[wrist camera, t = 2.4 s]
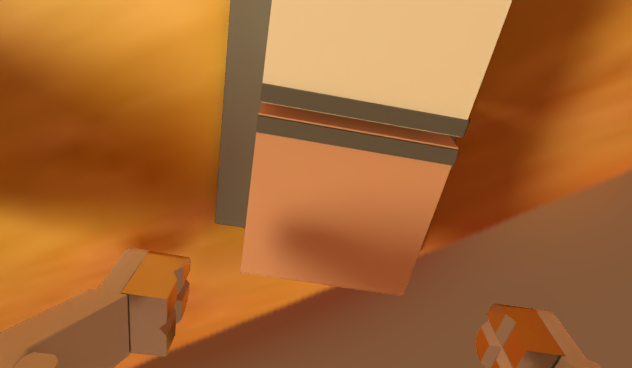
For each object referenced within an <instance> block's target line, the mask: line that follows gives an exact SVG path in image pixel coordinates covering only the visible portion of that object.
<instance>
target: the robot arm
mask: <svg viewBox="0 0 632 368" xmlns="http://www.w3.org/2000/svg"><path fill="white" fill-rule="evenodd" d="M189 272H190V258H189V257H184V256H178V255H173V254H167V253H161V252H155V251H148V250H142V249H136V248H129V249H127V250H126V251H125V252H124V254H123V255H122V256H121V258H120V259H119V260H118V262H117V263H116V264H115V266H114V267H113V269H112V270H111V271H110V273H109V274H108V275H107V277H106V278H105V279H104V281H103V282H102V284H101V285H100V286H99V288H98V289H97V290H91V289H90V290H88V291H86V292H84V293H82V294H80V295H78V296H76V297H74V298H71V299H69V300H67V301H65V302H63V303H61V304H59V305H57V306H55V307H53V308H51V309H48V310H46V311H44V312H42V313H40V314H38V315H36V316H34V317H32V318H30V319H28V320H26V321H23V322H21V323H19V324H17V325H15V326H13V327H11V328H9V329H7V330H5V331H3V332H0V368H114V367H115V366H116V365H117V364H119V363H120V362H121V361H122V360H124V359H125V358H126V357H127V356H129V353H137V354H147V355H156V356H166V355H167V353H168V351H169V348H170V346H171V344H172V341H173V339H174V336H175V330H176V323H178V322H179V321H181V319H182V317H183V314H184V312H185V308H186V304H187V301H188V295H189V282H188V281H187V280H186V279H187V276H188V274H189ZM487 316H488V319H489V321H488V322H487V323H485V324H483V325H482V326H481V327H480V329H479V331H478V333H477V337H476V350H477V354H478V357H479V359H480V362H481V363H482V364H483V365H484V366H485V367H486V368H602V367H600V366H599V365H598V364H596V363H595V362H594V361H591V360H587V359H586V358H585V357H584V356H583V354H582V352H581V351H580V350H579V348H578V347H577V345H576V344H575V342H574V341H573V340H572V338H571V337H570V336H569V334H568V333H567V331H566V330H565V328H564V327H563V326H562V324H561V323H560V321H559V320H558V319H557V317H556V316H555V314H553V313H552V312H550V311H549V310H540V309H533V308H530V309H529V308H522V307H515V306H509V305H501V304H494V305H492V306H491V307H490V309H489V311H488V313H487Z"/></svg>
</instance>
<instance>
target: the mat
mask: <svg viewBox="0 0 632 368" xmlns="http://www.w3.org/2000/svg"><path fill="white" fill-rule="evenodd" d="M271 4H272V0H231V1H230V15H229V29H228V44H227V58H226V72H225V86H224V100H223V114H222V128H221V142H220V156H219V171H218V185H217V199H216V213H215V223H216V224H222V225H229V226H236V227H242V228H245V227H246V218H247V209H248V201H249V192H250V183H251V174H252V166H253V157H254V148H255V140H256V127H257V118H258V113H259V111H260V109H261V106H262V104H263V102H260V95H261V87H262V82H263V73H264V64H265V56H266V47H267V38H268V30H269V21H270V12H271ZM449 136H450V137H451V139H452V140H453V141H454V143H455V140H456V138H457V136H451V135H449Z"/></svg>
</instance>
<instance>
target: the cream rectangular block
mask: <svg viewBox="0 0 632 368" xmlns="http://www.w3.org/2000/svg"><path fill="white" fill-rule="evenodd" d="M511 2H512V0H272V4H271V12H270V21H269V30H268V38H267V47H266V56H265V64H264V73H263V82H262V87H261V95H260V102H264V103H269V104H275V105H281V106H286V107H292V108H298V109H303V110H309V111H315V112H320V113H326V114H332V115H337V116H343V117H349V118H354V119H360V120H366V121H371V122H377V123H383V124H388V125H394V126H400V127H405V128H411V129H417V130H422V131H428V132H434V133H439V134H445V135H451V136H457V137H463V136H464V135H465V132H466V130H467V127H468V124H469V122H470V119H469V118H468V117H469V115H470V112H471V109H472V107H473V104H474V101H475V99H476V96H477V93H478V91H479V88H480V85H481V83H482V80H483V77H484V75H485V72H486V69H487V67H488V64H489V61H490V59H491V56H492V53H493V50H494V48H495V45H496V42H497V40H498V37H499V34H500V32H501V29H502V26H503V24H504V21H505V18H506V16H507V13H508V10H509V8H510V5H511Z"/></svg>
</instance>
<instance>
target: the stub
mask: <svg viewBox="0 0 632 368" xmlns="http://www.w3.org/2000/svg"><path fill="white" fill-rule="evenodd" d="M458 153H459V150H458V146H457V145H456V144H455V143H454V141H453V140H452V139H451V137H450V136H449V135H445V134H439V133H434V132H428V131H422V130H417V129H411V128H405V127H400V126H394V125H388V124H383V123H377V122H371V121H366V120H360V119H354V118H349V117H343V116H337V115H332V114H326V113H320V112H315V111H309V110H303V109H298V108H292V107H286V106H281V105H275V104H269V103H264V102H263V104H262V106H261V109H260V111H259V113H258V118H257V127H256V140H255V148H254V157H253V166H252V174H251V183H250V192H249V201H248V209H247V218H246V227H245V235H244V244H243V253H242V261H241V270H240V273H247V274H254V275H261V276H268V277H275V278H282V279H289V280H296V281H303V282H310V283H317V284H324V285H330V286H337V287H344V288H351V289H358V290H365V291H373V292H379V293H386V294H393V295H400V296H403V294H404V292H405V289H406V286H407V283H408V281H409V278H410V276H411V273H412V270H413V268H414V265H415V262H416V260H417V257H418V254H419V252H420V249H421V246H422V244H423V241H424V238H425V236H426V233H427V230H428V228H429V225H430V223H431V220H432V217H433V215H434V212H435V209H436V207H437V204H438V201H439V199H440V196H441V193H442V191H443V188H444V185H445V183H446V180H447V177H448V175H449V172H450V169H451V167H452V166H454V163H455V161H456V158H457V156H458Z"/></svg>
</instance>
